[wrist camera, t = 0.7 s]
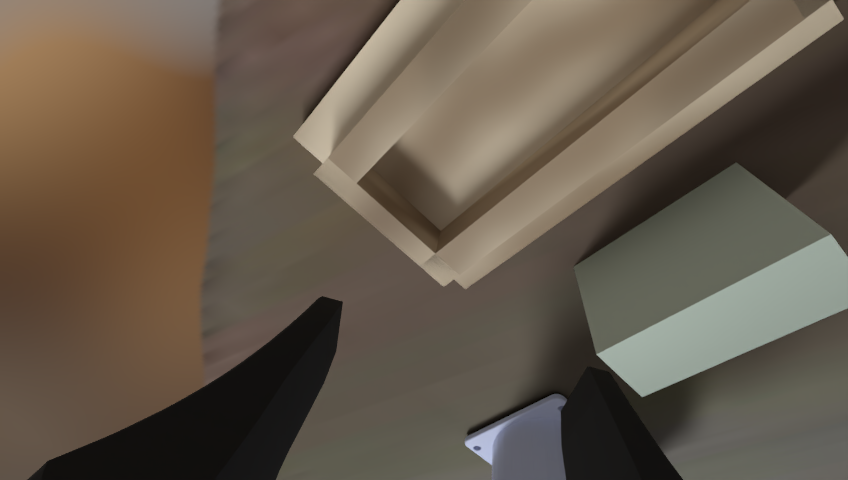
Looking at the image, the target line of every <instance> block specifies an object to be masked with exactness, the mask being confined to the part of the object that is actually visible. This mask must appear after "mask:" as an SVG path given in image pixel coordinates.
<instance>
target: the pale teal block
mask: <svg viewBox="0 0 848 480" xmlns="http://www.w3.org/2000/svg"><path fill="white" fill-rule="evenodd" d="M574 271H575V275H576V279H577V282H578V286H579V290H580V294H581V298H582V302H583V305H584V309H585V313H586V317H587V321H588V325H589V328H590V332H591V336H592V340H593V344H594V348H595V351H596V355H597V356H598V357H600V358H601V359H602V360H603V361H604V362H605V363H606V364H607V365H608V366H609V367H610V368H611V369H612V370H613V371H615V372H616V373H617V374H618V375H619V376H620V377H621V378H622V379H623V380H624V381H625V382H626V383H627V384H628V385H630V386H631V387H632V388H633V389H634V390H635V391H636V392H637V393H638V394H639V395H640V396H641V397H644V396H646V395H649V394H651V393H653V392H656V391H658V390H660V389H662V388H665V387H667V386H669V385H672V384H674V383H676V382H679V381H681V380H683V379H686V378H688V377H690V376H692V375H695V374H697V373H699V372H702V371H704V370H706V369H709V368H711V367H713V366H715V365H718V364H720V363H722V362H725V361H727V360H729V359H732V358H734V357H736V356H739V355H741V354H743V353H745V352H748V351H750V350H752V349H755V348H757V347H759V346H762V345H764V344H766V343H769V342H771V341H773V340H775V339H778V338H780V337H782V336H785V335H787V334H789V333H792V332H794V331H796V330H798V329H801V328H803V327H805V326H808V325H810V324H812V323H815V322H817V321H819V320H822V319H824V318H826V317H828V316H831V315H833V314H835V313H838V312H840V311H842V310H845V309H847V308H848V257H847V255H846V254H845V253H844V251H843V250H842V248H841V247H840V246H839V244H838V243H837V242H836V240H835V239H834V237H833V236H832V235H831V234H830V233H829V232H828V231H826V230H825V229H824V228H822V227H821V226H820V225H818V224H817V223H816V222H814V221H813V220H812V219H811V218H809V217H808V216H807V215H805V214H804V213H803V212H801V211H800V210H799V209H797V208H796V207H795V206H793V205H792V204H791V203H789V202H788V201H787V200H785V199H784V198H783V197H782V196H780V195H779V194H778V193H776V192H775V191H774V190H772V189H771V188H770V187H768V186H767V185H766V184H764V183H763V182H762V181H760V180H759V179H758V178H756V177H755V176H754V175H753V174H751V173H750V172H749V171H747V170H746V169H745V168H743V167H742V166H741V165H739V164H738V163H737V162H736V163H734V164H733V165H731V166H730V167H728V168H727V169H725V170H723V171H722V172H720V173H719V174H717V175H716V176H714V177H713V178H711V179H709V180H708V181H706V182H705V183H703V184H702V185H700V186H699V187H697V188H695V189H694V190H692V191H691V192H689V193H688V194H686V195H685V196H683V197H681V198H680V199H678V200H677V201H675V202H674V203H672V204H671V205H669V206H667V207H666V208H664V209H663V210H661V211H660V212H658V213H657V214H655V215H653V216H652V217H650V218H649V219H647V220H646V221H644V222H643V223H641V224H639V225H638V226H636V227H635V228H633V229H632V230H630V231H629V232H627V233H625V234H624V235H622V236H621V237H619V238H618V239H616V240H614V241H613V242H611V243H610V244H608V245H607V246H605V247H604V248H602V249H600V250H599V251H597V252H596V253H594V254H593V255H591V256H590V257H588V258H586V259H585V260H583V261H582V262H580V263H579V264H577V265H576V266H574Z"/></svg>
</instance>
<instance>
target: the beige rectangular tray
mask: <svg viewBox="0 0 848 480" xmlns="http://www.w3.org/2000/svg"><path fill="white" fill-rule="evenodd" d="M842 20H844V18H843V17H842V15H841V13H840V12H839V10H838V8H837V6H836V5H835V3H834V1H833V0H400V1H399V2H398V4H397V5H396V6H395V7H394V9H393V10H392V11H391V13H390V14H389V15H388V16H387V18H386V19H385V20H384V22H383V23H382V24H381V25H380V27H379V28H378V29H377V30H376V32H375V33H374V34H373V36H372V37H371V38H370V39H369V41H368V42H367V43H366V44H365V46H364V47H363V48H362V50H361V51H360V52H359V53H358V55H357V56H356V57H355V58H354V60H353V61H352V62H351V64H350V65H349V66H348V67H347V69H346V70H345V71H344V72H343V74H342V75H341V76H340V78H339V79H338V80H337V81H336V83H335V84H334V85H333V87H332V88H331V89H330V90H329V92H328V93H327V94H326V95H325V97H324V98H323V99H322V101H321V102H320V103H319V104H318V106H317V107H316V108H315V109H314V111H313V112H312V113H311V115H310V116H309V117H308V118H307V120H306V121H305V122H304V123H303V125H302V126H301V127H300V129H299V130H298V131H297V132H296V134H295V135H294V136H293V137H294V138H295V139H296V140H297V141H298V142H299V143H300V144H301V145H303V146H304V147H305V148H306V149H307V150H308V151H309V152H310V153H312V154H313V155H314V156H315V157H316V158H317V159H318V160H320V161H321V162H322V163H323V164H322V165H321V166H320V167H319V168H318V170H317V171H316V172H315V173H314V175H315V176H317V177H318V178H319V179H320V180H321V181H322V182H324V183H325V184H326V185H327V186H328V187H329V188H330V189H332V190H333V191H334V192H335V193H336V194H337V195H338V196H340V197H341V198H342V199H343V200H344V201H345V202H347V203H348V204H349V205H350V206H351V207H352V208H353V209H355V210H356V211H357V212H358V213H359V214H360V215H362V216H363V217H364V218H365V219H366V220H367V221H368V222H370V223H371V224H372V225H373V226H374V227H375V228H376V229H378V230H379V231H380V232H381V233H382V234H383V235H385V236H386V237H387V238H388V239H389V240H390V241H391V242H393V243H394V244H395V245H396V246H397V247H398V248H400V249H401V250H402V251H403V252H404V253H405V254H406V255H408V256H409V257H410V258H411V259H412V260H413V261H414V262H416V263H417V264H418V265H419V266H420V267H421V268H423V269H424V270H425V271H426V272H427V273H428V274H429V275H431V276H432V277H433V278H434V279H435V280H436V281H438V282H439V283H440V284H441V285H442V286H443V287H444V286H445V285H447V284H448V283H450V282H451V281H452V280H455V281H457V282H458V283H459V284H460V285H461V286H462V287H463V288H465V289H467V288H468V287H469V286H471V285H472V284H474V283H475V282H476V281H478V280H479V279H481V278H482V277H483V276H485V275H486V274H488V273H489V272H490V271H492V270H493V269H495V268H496V267H497V266H499V265H500V264H502V263H503V262H504V261H506V260H507V259H509V258H510V257H511V256H513V255H514V254H516V253H517V252H518V251H520V250H521V249H523V248H524V247H525V246H527V245H528V244H530V243H531V242H532V241H534V240H535V239H537V238H538V237H539V236H541V235H542V234H544V233H545V232H546V231H548V230H549V229H551V228H552V227H553V226H555V225H556V224H558V223H559V222H560V221H562V220H563V219H565V218H566V217H567V216H569V215H570V214H572V213H573V212H574V211H576V210H577V209H579V208H580V207H582V206H583V205H584V204H586V203H587V202H589V201H590V200H591V199H593V198H594V197H596V196H597V195H598V194H600V193H601V192H603V191H604V190H605V189H607V188H608V187H610V186H611V185H612V184H614V183H615V182H617V181H618V180H619V179H621V178H622V177H624V176H625V175H626V174H628V173H629V172H631V171H632V170H633V169H635V168H636V167H638V166H639V165H640V164H642V163H643V162H645V161H646V160H647V159H649V158H650V157H652V156H653V155H654V154H656V153H657V152H659V151H660V150H661V149H663V148H664V147H666V146H667V145H668V144H670V143H671V142H673V141H674V140H675V139H677V138H678V137H680V136H681V135H682V134H684V133H685V132H687V131H688V130H689V129H691V128H692V127H694V126H695V125H696V124H698V123H699V122H701V121H702V120H703V119H705V118H706V117H708V116H709V115H711V114H712V113H713V112H715V111H716V110H718V109H719V108H720V107H722V106H723V105H725V104H726V103H727V102H729V101H730V100H732V99H733V98H734V97H736V96H737V95H739V94H740V93H741V92H743V91H744V90H746V89H747V88H748V87H750V86H751V85H753V84H754V83H755V82H757V81H758V80H760V79H761V78H762V77H764V76H765V75H767V74H768V73H769V72H771V71H772V70H774V69H775V68H776V67H778V66H779V65H781V64H782V63H783V62H785V61H786V60H788V59H789V58H790V57H792V56H793V55H795V54H796V53H797V52H799V51H800V50H802V49H803V48H804V47H806V46H807V45H809V44H810V43H811V42H813V41H814V40H816V39H817V38H818V37H820V36H821V35H823V34H824V33H825V32H827V31H828V30H830V29H831V28H832V27H834V26H835V25H837V24H838V23H839V22H841V21H842Z"/></svg>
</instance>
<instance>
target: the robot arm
mask: <svg viewBox="0 0 848 480" xmlns="http://www.w3.org/2000/svg"><path fill="white" fill-rule="evenodd" d="M342 303H343V302H342V301H338V300H334V299H331V298H327V297H323V296H322V297H320V298H318V299H317V300H316V301H315V302H314V303H313V304H312V305H311V306H310V307H309V308H308V309H307V310H306V311H305V312H304V313H302V314H301V315H300V316H299V317H298V318H297V319H296V320H295V321H294V322H292V323H291V324H290V325H289V326H288V327H287V328H285V329H284V330H283V331H282V332H280V333H279V334H278V335H277V336H276V337H274V338H273V339H272V340H271V341H270V342H268V343H267V344H266V345H264V346H263V347H262V348H260V349H259V350H258V351H256V352H255V353H254V354H252V355H251V356H250V357H248V358H247V359H245V360H244V361H243V362H241V363H240V364H239V365H237V366H236V367H234V368H233V369H231V370H230V371H228V372H227V373H225V374H224V375H222V376H221V377H219V378H217V379H216V380H214V381H213V382H211V383H209V384H208V385H206V386H205V387H203V388H201V389H199V390H198V391H196V392H194V393H192V394H191V395H189V396H187V397H186V398H184V399H182V400H180V401H178V402H177V403H175V404H173V405H171V406H169V407H167V408H166V409H164V410H162V411H160V412H158V413H155V414H154V415H151V416H149V417H147V418H145V419H143V420H141V421H139V422H137V423H135V424H133V425H131V426H129V427H127V428H125V429H123V430H120V431H118V432H116V433H114V434H112V435H109V436H107V437H105V438H103V439H100V440H98V441H95V442H93V443H90V444H88V445H86V446H83V447H81V448H78V449H76V450H73V451H71V452H69V453H66V454H64V455H61V456H59V457H56V458H54V459H52V460H49V461H47V462H46V463H45V464H44V465H43V466H42V467H41V468H40V469H39V470H38V471H37V472H35V473H34V474H33V475H32V476H31V477H30V478H29V479H28V480H276V478H277V475H278V473H279V470H280V468H281V466H282V464H283V462H284V460H285V457H286V455H287V453H288V451H289V449H290V447H291V445H292V444H293V442H294V440H295V438H296V436H297V434H298V432H299V430H300V428H301V426H302V424H303V422H304V420H305V419H306V417H307V415H308V413H309V411H310V409H311V407H312V405H313V403H314V401H315V399H316V397H317V395H318V393H319V391H320V389H321V387H322V385H323V384H324V381H325V379H326V376H327V374H328V371H329V368H330V366H331V363H332V360H333V358H334V355H335V353H336V348H337V341H338V333H339V326H340V318H341V311H342ZM465 445H466V446H467V447H468V448H470V449H471V450H472V451H474V452H475V453H476V454H478V455H479V456H480V457H482V458H483V459H484V460H486V461H487V462H488V463H490V464H491V465H492V480H683V479H682V478H681V476H680V475H679V474H678V472H677V471H676V470H675V468H674V467H673V466H672V464H671V463H670V462H669V460H668V459H667V457H666V456H665V455H664V453H663V452H662V451H661V449H660V448H659V446H658V445H657V443H656V442H655V440H654V439H653V438H652V436H651V435H650V433H649V432H648V430H647V429H646V427H645V426H644V424H643V423H642V421H641V420H640V418H639V417H638V415H637V414H636V412H635V411H634V409H633V408H632V406H631V405H630V403H629V401H628V400H627V398H626V397H625V395H624V394H623V392H622V391H621V389H620V388H619V386H618V385H617V383H616V382H615V380H614V379H613V377H612V376H611V374H610V373H609V372H607V371H603V370H599V369H596V368H592V367H587V369H586V370H585V372H584V373H583V375H582V377H581V378H580V380H579V382H578V383H577V385H576V387H575V388H574V390H573V392H572V393H571V395H570V397H569V398H568V400H567V399H566V398H565V397H564V396H562V395H560V394H552V395H550V396H548V397H546V398H544V399H542V400H540V401H538V402H536V403H534V404H532V405H530V406H528V407H526V408H524V409H522V410H519V411H517V412H515V413H513V414H511V415H509V416H507V417H505V418H503V419H501V420H499V421H497V422H495V423H493V424H491V425H489V426H487V427H485V428H483V429H481V430H479V431H477V432H475V433H473V434H471V435H469V436H467V437H466V438H465Z"/></svg>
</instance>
